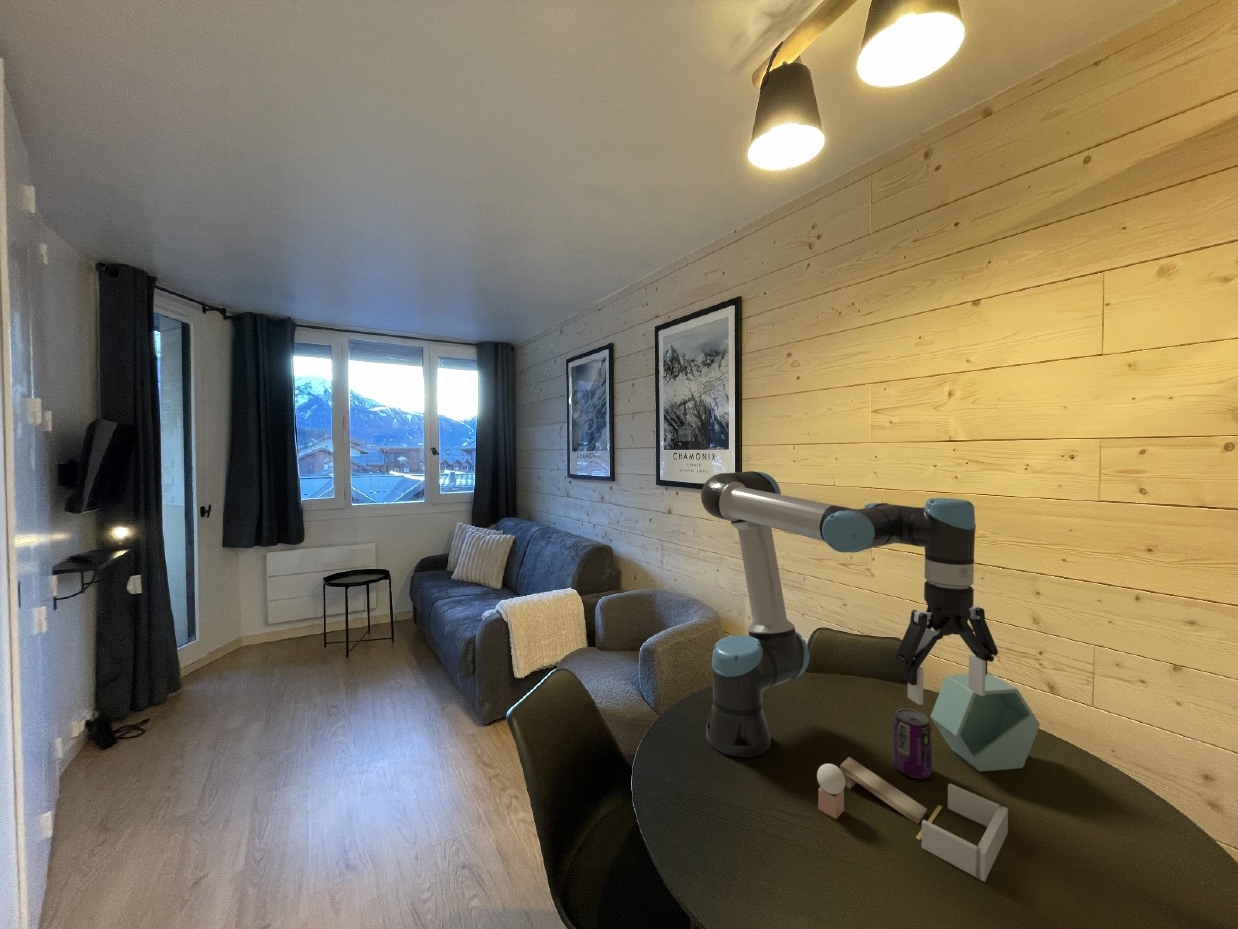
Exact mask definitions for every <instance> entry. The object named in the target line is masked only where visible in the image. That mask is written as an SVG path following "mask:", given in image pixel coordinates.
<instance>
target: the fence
mask: <svg viewBox="0 0 1238 929" xmlns="http://www.w3.org/2000/svg"><path fill="white" fill-rule="evenodd" d="M947 809H949V810H950V811H952V812H954V813H956V814H959V815H961V816H963V817H965V818H967V819H970V820H971V821H974V822H975V823H978V824H980V825H982V826H984V827H986V829H985V831H984V834H983V835H982V838H981V839H980V841H979V842H978V845H976V844H973V843H971V842H969V841H967V840H965V839H964V838H962V837H959V836H957V835H955V834H953V833H952V832H950V831H947V830H946V829H944V828H941V827H940V826H937V825H936V824H933V822H932V823H930V822H928V820H926V819H922V820H921V829H922V838H921V848H922V849H923V850H925V851H927V852H929V853H930V854H933V855H934V856H936V857H938V858H940V859H942V860H944V861H945V862H947V863H949V864H951V865H953V866H954V867H956V868H958V869H959V870H962V871H964V872H965V873H968V874H969V875H971V876H973V877H975V878H976V879H979V880H980V881H982V882H986V880H987V878H988V876H989V873H990V871H991V869H992V868H993V865H994V864H995V861H996V859H997V857H998V855H999V852H1000V850H1001V848H1002V846H1003V844H1004V842H1005V840H1006V837H1007V836H1008V834H1009V832H1008V831H1009V821H1008V820H1009V809H1008V807H1006V806H1003V805H1000V804H999V803H996V802H994V801H992V800H989V799H987V798H984V797H982V796H980V795H977V794H975V793H973V792H970V791H968V790H967V789H964V788H961V787H959V786H957V785H954V784H952V783H948V785H947Z"/></svg>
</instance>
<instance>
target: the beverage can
mask: <svg viewBox="0 0 1238 929" xmlns="http://www.w3.org/2000/svg"><path fill="white" fill-rule="evenodd" d="M929 719H930V718H929V717H928V716H927V715H926V714H925V713H923V712H921V711H918V710H915V709H912V708H898V709H897V710H895V715H894V717H893V719H892V740H893V741H892V764H893V766H894V768H895V769H896V770H897V771H899V772H901V773H902V774H904V775H905V776H907V777H910V778H913V779H927V778H929V777H931V776H932V772H933V771H932V764H933V763H932V759H933V758H932V749H933V748H932V747H933V746H932V743H933V742H932V741H933V740H932V726H931V725H930V720H929Z"/></svg>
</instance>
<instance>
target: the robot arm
mask: <svg viewBox="0 0 1238 929" xmlns="http://www.w3.org/2000/svg"><path fill="white" fill-rule="evenodd" d="M700 499H701V504H702V506H703V508H704V509H705V511H706V512H707V513H708V514H710V515H711V516H712V517H715V518H718V519H721V520H725V521H729V522H730V524H731V526H732V527H734V528H735V529H736V530H737V531H738V533H737V534H738V538H739V543H740V551H741V556H742V562H743V570H744V576H745V583H746V587H747V594H748V599H749V600H748V601H749V605H750V606H749V607H750V611H751V619H752V622H751V624H750V625H749V627H748V628H747V630H748V632H747V633H748V635H746V634H745V635H744V634H738V635H733V634H732V635H728V636H725V637H723V638H721V639H719V640H718V641H716V643H715V644H714V646H713V648H712V657H711V658H712V659H711V670H712V707H711V709H710V713H709V716H708V718H707V722H706V726H705V736H706V740H707V742H708V744H710V745H711V747H713V749H715V750H716V751H718V752H720V753H722V754H725V755H727V756H731V757H737V758H754V757H757V756H758V757H759V756H761V755H762V754H764V753H766V752H767V751H768V750H769V749H770V747H771V730H770V728H769V725H768V723H767V722H768V721H767V719H766V715H765V713H764V710H763V692H764V691H765V690H767V689H771V688H773V687H776V686H778V685H782V684H784V683H786V682H791V681H793V680H795V679H796V678H798V677H800V676H801V675H802V674H804V672H805V671H806V670H807V668H808V666H809V661H810V653H809V652H810V651H809V648H808V645H807V642H806V640H805V639H803V636H802V635H801V634H800V633H799V632H798V631H796V626H795V624H794V623H792V622H791V621H789V619H788V618H787V613H786V606H785V605H786V604H785V600H784V593H783V589H782V582H781V576H780V575H781V574H780V571H779V565H778V559H777V553H776V548H775V547H776V546H775V542H774V535H773V529H775V530H779V531H783V532H786V533H790V534H793V535H798V536H800V537H801V536H802V537H805V538H809V539H813V540H816V541H820V542H824V543H826V544H827V545H828V546H829V547H830V548H831V549H832V550H834V551H836V552H839V553H845V554H847V553H853V554H854V553H860V552H862V551H865V550H869V549H873V548H874V549H875V548H879V547H883V546H888V545H893V544H900V545H908V546H914V547H919V548H924V575H923V576H924V579H925V580H926V581H925V582H924V584H923V585H924V586H923V587H924V588H923V589H924V590H923V591H924V592H923V598H924V601H925V603H926V605H927V607H926V611H919V610H916V609H912V610H911V613H910V622H909V623H908V625H907V628H906V630H905V633H904V636H903V637H902V640H901V643H900V645H899V647H898V649H897V652H896V653H895V656H894V659H895V661H897V662H899V663H900V664H902V665H904V666H905V668H904V669H905V670H904V671H905V675H904V676H905V678H904V680H905V682H906V683H907V698H908V699H910V701H913V702H914V703H915V704H917V705H919V706H920V705H923V704H924V668H922V666H921V665H922V664H923V662H924V660H926V658H927V657H928V655H929V654H930V652H931V650H932V649H933V648H934V646H935V645H936V643H937V642H938V641H939V640H942V639H943V637H947V636H951V635H955V636H960V638H961V639H962V640H963V642H964V643H965V644H966V646H967V647H968V648H969V649H970V651H971V652H972V653H973V654H974V655H973V654H969V655H968V656H969V658H968V674H969V689H970V690H971V691H973V692H975V693H977V694H979V695H981V696H985V677H986V675H987V673H988V662H990V663H992V662H994V660H995V657H996V656H998V654H999V651H998V648H997V645H996V643H995V640H994V638H993V636H992V633H991V630H990V628H989V626H988V624H987V621H986V615H985V614H986V613H985V612H986V611H985V609H984V608H982V607H980V606H976V605H974V599H975V598H974V597H975V595H974V594H975V591H974V590H975V589H974V588H973V585H974V582H975V580H974V578H975V575H974V571H975V569H974V568H975V566H974V565H975V542H976V541H975V540H976V539H975V538H976V529H977V525H976V515H975V513H976V512H975V506H974V504H973V502H971V501H969V500H966V499H961V498H946V497H944V498H943V497H934V498H933V497H932V498H928V499H927V500H926V501H925V505H924V507H922V506H921V507H917V506H907V505H899V504H891V503H886V502H881V503H879V502H870V503H867V504H866V505H865V506H864V507H862V508H851V507H847V506H841V505H835V504H832V503H831V504H830V503H826V502H825V503H824V502H820V501H816V500H810V499H805V498H799V497H796V496H789V495H785V494H782V491H781V489H780V486H779V484H778V482H777V481H776V480H775V479H774V477H772V476H771V475H770V474H768V473H766V472H764V471H763V472H762V471H754V470H751V471H737V472H722V473H721V472H720V473H717V474H714V475H713V476H711V477H709V478H708V479H707V480H706V481H705V483H704V484H703V486H702V489H701V492H700ZM969 623H970V624H969ZM932 629H933V630H932Z"/></svg>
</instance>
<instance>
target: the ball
mask: <svg viewBox="0 0 1238 929" xmlns="http://www.w3.org/2000/svg"><path fill="white" fill-rule="evenodd" d="M816 778H817V782H818V785H819V786H820V787H821V788H822V789H823V790H824V791H826V792H827V793H829V794H839V793H841V792H842V791H843V790H845V777H844V774H843V772H842V771H841V770H840V767H838V766H837V765H835V764H833V763H824V764H821V765H820V766H819V768H818V770H817V772H816Z"/></svg>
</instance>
